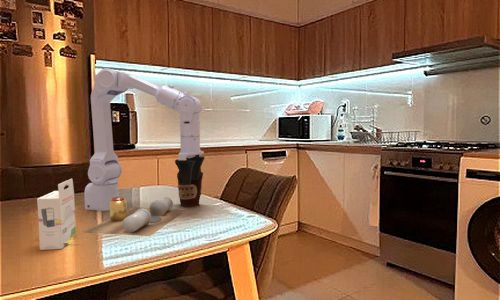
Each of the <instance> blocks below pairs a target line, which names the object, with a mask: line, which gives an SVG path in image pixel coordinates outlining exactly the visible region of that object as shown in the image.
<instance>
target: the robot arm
mask: <svg viewBox="0 0 500 300" xmlns="http://www.w3.org/2000/svg"><path fill="white" fill-rule="evenodd" d="M174 87H175V86H174V85H172V84H168V85H166V84H164V85H161V86H158V85H156V84H154V83H152V82H149V81H148V80H146V79H144V78H142V77H139V76H137V75H135V74H130V73H126V72H124V71H118V70H115V69H112V68H108V67H107V68H106V67H105V68H103V69H101V70H100V71H98V72H97V74H95V75H94V85H93V87H92V90H91V94H90V104H91V105H90V106H91V119H92V132H93V133H92V134H93V145H94V146H93V147H94V154H93V155H92V156H91V158H90V159H89V166H88V170H87V176H88V179H89V181H91V182H88V183H87V185H86V186H85V188H84V192H83V193H84V210H87V211H88V210H90V211H97V212H98V211H100V212H103V211H106V212H107V211H110V200H112V198H114V197H119V184H118V183H119V178H120V176H121V175H122V166H121V164H120V162H119V156H118V155H117V154H116V153H115V151H114V140H113V128H112V127H113V126H112V111H111V102H112V101H113V100H114V99H115V98H116V97H118V96H120V95H121V94H123V93H125V92H128V91H129V90H133V89H136V90H138V91H141V92H143V93H146V94H147V95H151V96H153V97H155V99H156V101H157V103H158V104H160V105H162V106H165V107H167V108H170V109H172V110H174V111H176V112H178V113H179V116H180V119H179V124H180V125H179V129H180V130H179V131H180V136H179V137H180V139H179V140H180V151H179V153H178V154H177V155H178V158H177V159H175V160H174V164H175V165H176V167H177V168H178V172H180V175H181V179H182V183H183V184H190V183H191V180H198V178H199V174H200V169H201V170H202V165H203V162H204V161H205V156H201V155H203V154H204V153H205V151H203V150H202V149H201V140H200V139H201V137H200V135H201V130H200V129H201V126H200V121H201V120H200V113H201V112H202V106H203V105H202V102H201V100H200V99H198V98H197V97H196V96H193V95H188V94H189V93H188V92H187V91H180V90H178V89H176V88H174Z"/></svg>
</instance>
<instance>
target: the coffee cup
mask: <svg viewBox="0 0 500 300" xmlns="http://www.w3.org/2000/svg"><path fill="white" fill-rule="evenodd" d="M203 177H204V172H202V168H201V169H200V174H199V178H198V180H191V183H190V184H183V183H182V179H181V175H180V172H179V171H178V172H177V174H176V178H177V189H178V190H177V191H178V198H179V203H180V207H183V208H197V207H200V199H201V196H202V189H203V185H202V183H203V182H202V181H203Z"/></svg>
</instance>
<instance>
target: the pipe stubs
mask: <svg viewBox="0 0 500 300" xmlns="http://www.w3.org/2000/svg"><path fill="white" fill-rule="evenodd" d="M173 206H174V202H173V200H172V199H171V198H170V197H168V196H167V197H165V196H164V197H163V198H161V199H157V200H154V201H152V202H151V203H150V205H149V207H148V208H149V210H150V212H149V211H148V210H147V209H144V208H145V207H140V208H141V209H138V210H137V211H135V213H134V214H132V215H130V216H128V217H126V218H125V219H124V220H123V223H122V225H123V228H124V230H125V231H127V232H129V233H132V232H134V231H136V230H138V229H139V228H141V227H142V226H147V225H148V224H149V223H150V222H151V214H152V215H153V216H163V215H164V214H165V212H166V211H168V210H170V209H173ZM150 213H151V214H150Z"/></svg>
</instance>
